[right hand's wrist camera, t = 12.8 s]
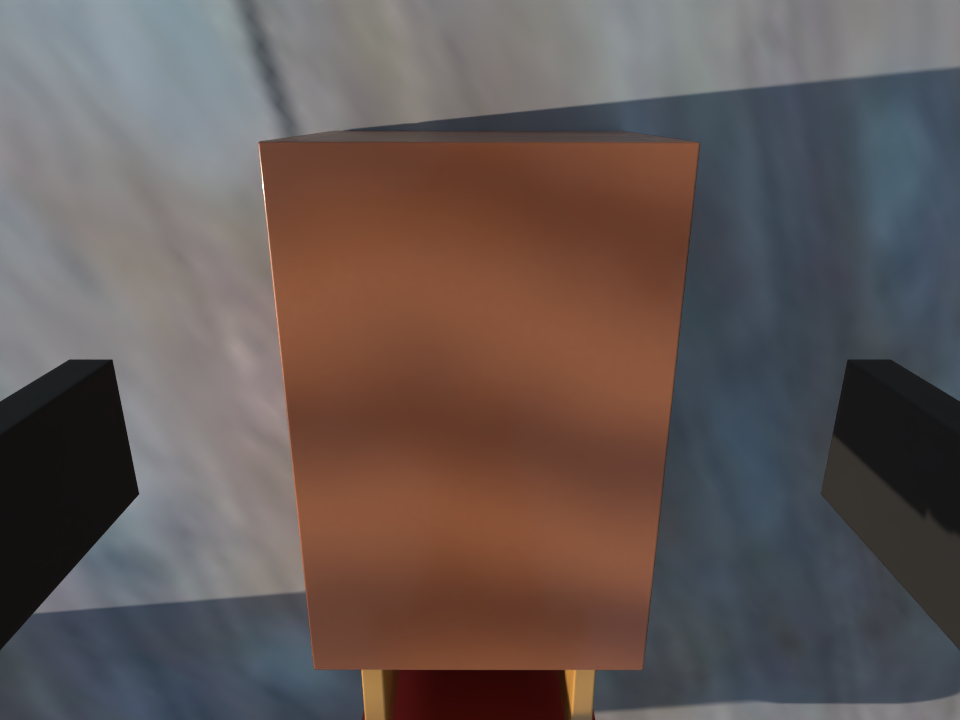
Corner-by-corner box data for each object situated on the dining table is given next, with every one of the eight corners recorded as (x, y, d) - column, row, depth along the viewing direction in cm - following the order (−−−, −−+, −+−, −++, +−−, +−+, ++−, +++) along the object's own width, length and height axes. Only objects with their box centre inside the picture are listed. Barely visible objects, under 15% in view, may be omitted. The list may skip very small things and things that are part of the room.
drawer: (574, 745, 36) (597, 903, 29) (383, 745, 36) (359, 903, 29) (599, 359, 28) (639, 443, 21) (358, 359, 28) (317, 443, 21)
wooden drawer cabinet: (598, 515, 32) (643, 670, 23) (359, 515, 32) (313, 670, 23) (625, 131, 26) (700, 142, 17) (332, 130, 26) (257, 141, 17)
